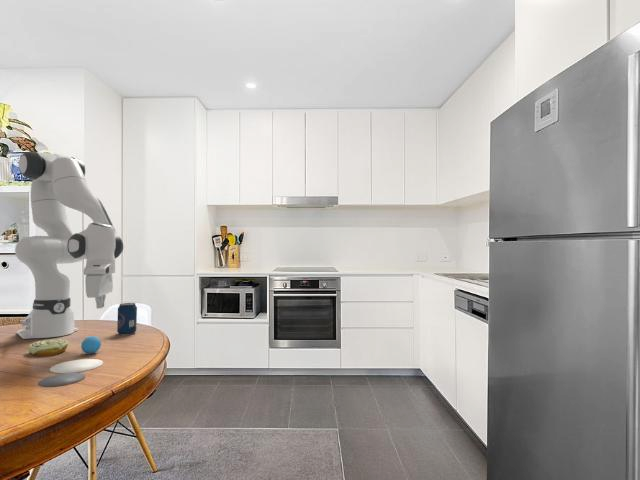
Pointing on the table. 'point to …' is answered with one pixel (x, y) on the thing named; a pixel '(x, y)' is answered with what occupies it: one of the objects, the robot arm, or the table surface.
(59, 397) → the table surface
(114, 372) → the table surface
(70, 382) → the disc
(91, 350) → the ball
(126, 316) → the soda can
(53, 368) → the disc
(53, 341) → the decorated donut
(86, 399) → the table surface
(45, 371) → the table surface
